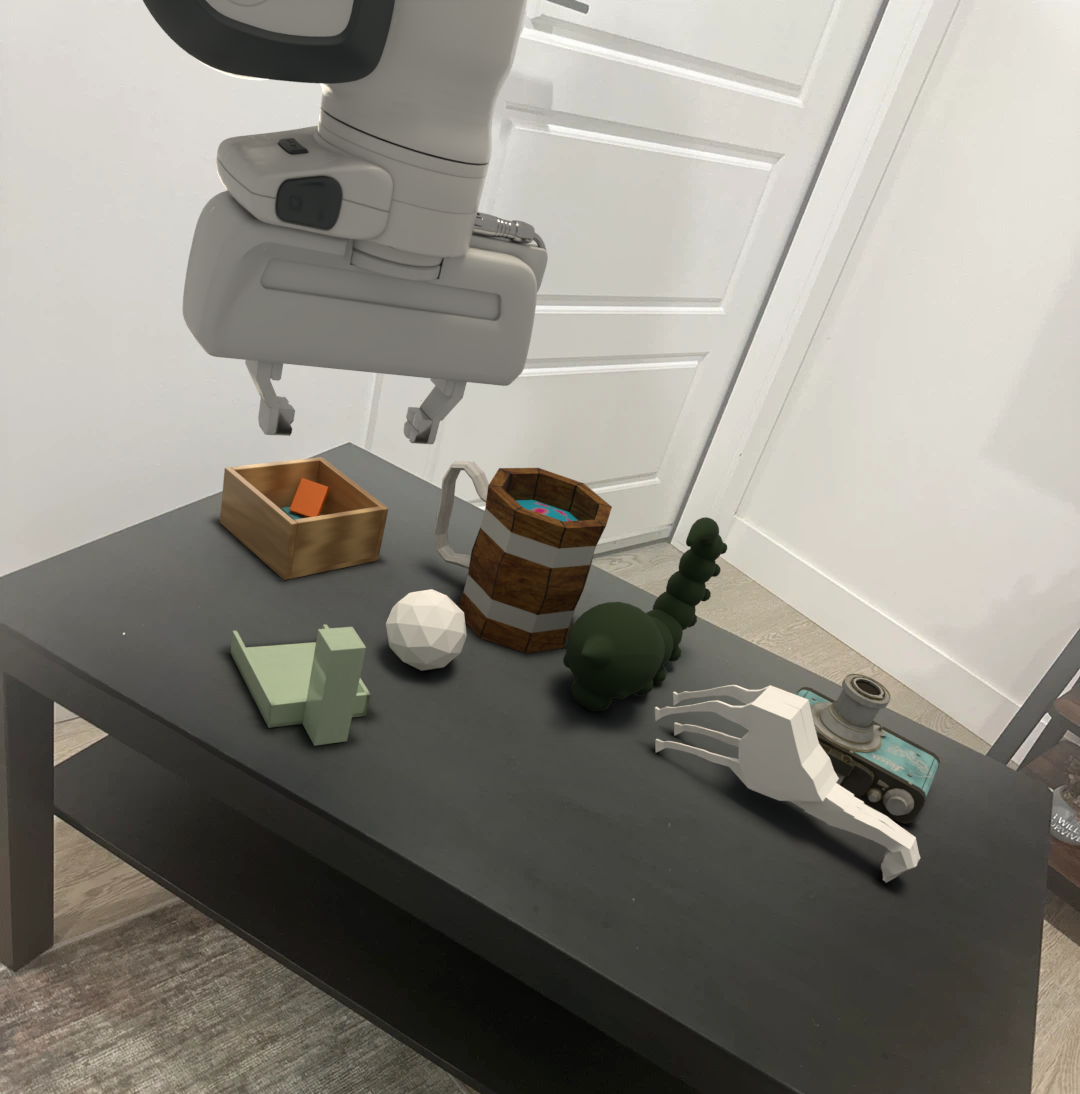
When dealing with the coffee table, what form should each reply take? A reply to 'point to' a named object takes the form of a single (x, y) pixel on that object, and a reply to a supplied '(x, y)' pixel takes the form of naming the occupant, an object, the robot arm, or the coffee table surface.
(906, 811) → the camera
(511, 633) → the mug
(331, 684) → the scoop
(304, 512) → the sachet orange
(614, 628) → the toy caterpillar
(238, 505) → the holder
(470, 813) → the coffee table surface
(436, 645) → the geometric ball
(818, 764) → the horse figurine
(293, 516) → the block
